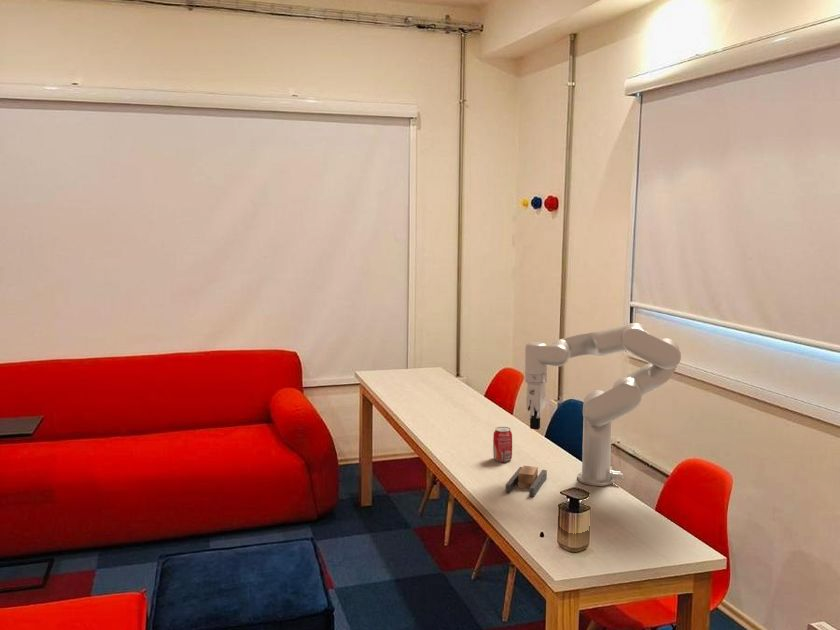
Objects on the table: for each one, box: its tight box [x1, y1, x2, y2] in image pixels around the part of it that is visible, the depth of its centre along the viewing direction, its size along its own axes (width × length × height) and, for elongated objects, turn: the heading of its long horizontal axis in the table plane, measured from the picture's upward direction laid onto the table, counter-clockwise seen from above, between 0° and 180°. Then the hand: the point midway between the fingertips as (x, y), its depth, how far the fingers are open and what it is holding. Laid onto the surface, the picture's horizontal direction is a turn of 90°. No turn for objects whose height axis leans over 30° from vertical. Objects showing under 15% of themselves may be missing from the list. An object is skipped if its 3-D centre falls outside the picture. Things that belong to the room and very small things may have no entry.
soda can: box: [492, 426, 513, 463], centre depth 281 cm, size 7×7×12 cm
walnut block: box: [517, 465, 539, 489], centre depth 257 cm, size 5×8×5 cm, turn 160°
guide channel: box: [505, 466, 548, 498], centre depth 256 cm, size 10×18×3 cm, turn 157°
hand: (535, 428), depth 263 cm, fingers closed
